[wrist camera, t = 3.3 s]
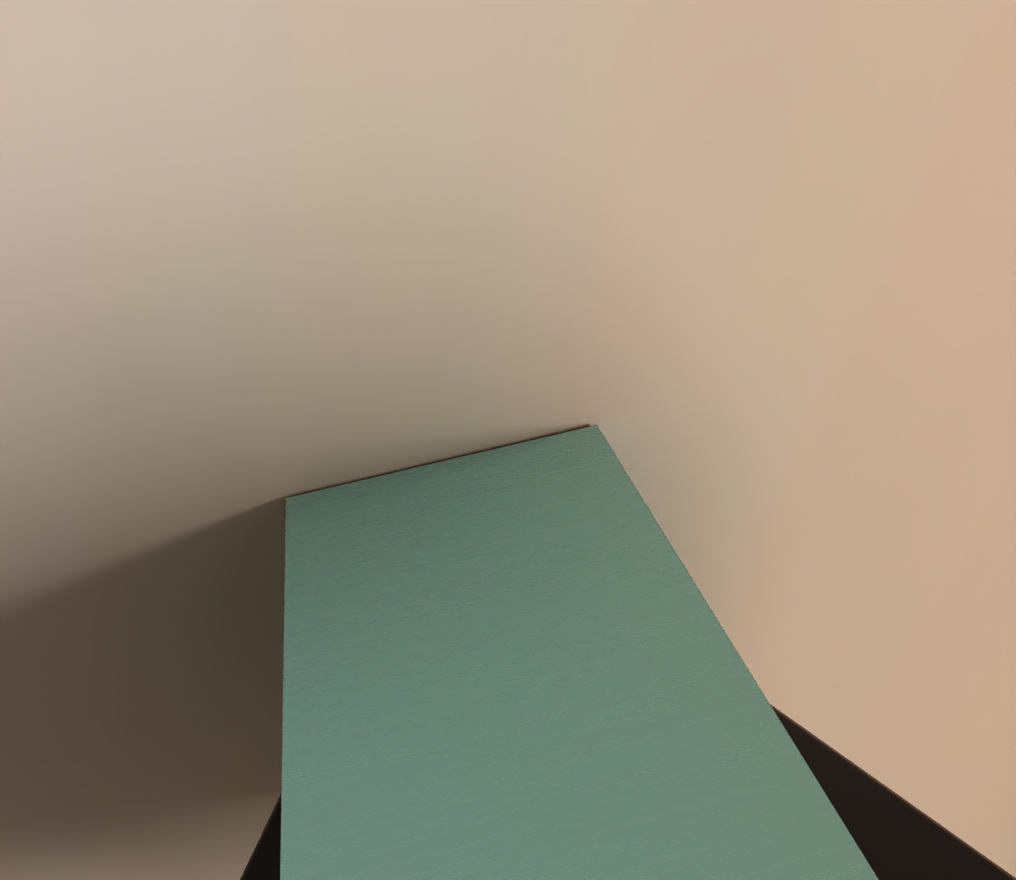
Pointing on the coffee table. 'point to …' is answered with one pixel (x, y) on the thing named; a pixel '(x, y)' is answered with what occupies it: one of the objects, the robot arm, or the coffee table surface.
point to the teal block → (525, 689)
